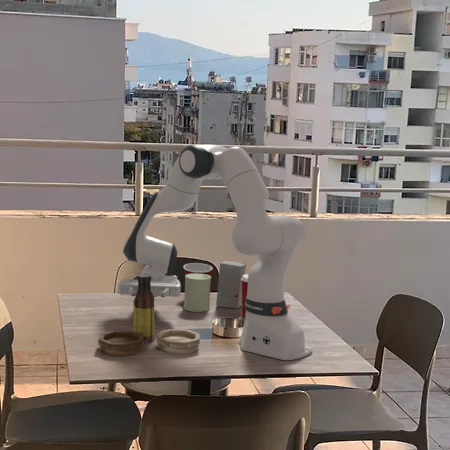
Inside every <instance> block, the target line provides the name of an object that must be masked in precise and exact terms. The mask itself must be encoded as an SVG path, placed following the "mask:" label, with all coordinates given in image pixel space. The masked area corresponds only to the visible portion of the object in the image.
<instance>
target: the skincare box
mask: <svg viewBox="0 0 450 450" xmlns="http://www.w3.org/2000/svg"><path fill="white" fill-rule="evenodd" d="M246 268H247V263H243V262H237V261H231V260H230V261H229V260H224V261H221V262H220V265H219V273H218V274H219V275H218V282H217V292H216V304H215V306H216V307H217V308H218V307H219V308H227V309H235V310H238V309H239V308H241V307H242V280H241V279H242V276H243V275H245V274H246Z"/></svg>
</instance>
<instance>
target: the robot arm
mask: <svg viewBox="0 0 450 450" xmlns="http://www.w3.org/2000/svg"><path fill="white" fill-rule="evenodd" d="M204 180H208V181H209V180H210V181H212V180H213V181H215V180H217V181H218V180H222V182H223V184H224V185H225V188H226V191H227V193H228V194H229V197H230V199H231V201H232V204H233V206H234V209H235V213H236V224H235V226H234V227H233V230H232V234H231V241H232V245H233V246H234V249H236V251H237V252H238V253H239V254H242V255H248V256H254V257H256V256H259V257H258V259H257V261H256V263H254V265H253V266H252V267H251V268H250V270H249V272H248V273H247V274H248V289H247V297H246V300H245V310H246V314H245V317H244V321H243V327H242V332H241V335H240V337H239V340H238V343H239V345H240V351H241V350H242V351H244V352H249V353H254V354H257V355H262V356H265V357H270V358H273V359H278V360H281V361H292V360H298V359H302V358H304V357H307V356H309V355H311V353H312V352H313V347H311V346H309V345H308V344H306V341H305V339H306V338H305V333H304V330H303V329H302V327H300V326H299V324H298V323H297V322H296V321H295V320H294V318H292V316H291V315H290V314H289V309H291V308H292V307H291V306H292V304H287V303H286V300H285V288H286V277H287V274H288V269H289V266H290V263H291V261H292V258H293V256H294V254H295V252H296V251H297V250H298V248H299V247H300V246H301V245H302V243H303V242H304V240H305V236H306V232H305V231H306V230H305V227H304V224H303V223H302V221H301V220H300V218H297V217H294V216H291V215H285V214H284V215H283V214H282V215H272V216H270V215H269V214H268V212H267V210H266V204H267V203H268V200H269V198H270V193H269V190H268V188H267V186H266V184H265V182H264V180H263V178H262V175H261V174H260V172H259V170H258V168H257V165H256V164H255V163H254V161H253V159H252V158H251V157H250V155H249V154H248V153H247V151H246V150H245V149H244V148H242V147H240V146H227V145H226V146H225V145H224V146H222V145H215V144H207V143H206V144H197V143H195V144H191V145H188V146H185V147H184V148H183V149H182V150H181V152H180V154H179V156H178V157H177V159H176V161H175V162H174V165H173V166H172V168H171V170H170V173H169V175H168V178H167V181H166V182H165V186H164V187H163V188H162V189H161V190H160V191H155V192H154V193H153V194H152V195H151V196H150V197H149V199H148V201H147V203H146V205H145V206H144V208H143V210H142V212H141V213H140V216H139V218H138V220H137V222H136V223H135V225H134V227H133V229H132V231H131V232H130V233H129V235H128V236H127V237H126V239H125V241H124V243H123V246H122V253H123V255H124V256H125V258H126V259H127V260H128V261H130V262H134V263H135V262H136V263H140V264H144V265H146V266H145V267H144V268H143V269H142V271H141V273H140V274H150V275H151V281H150V284H151V285H150V287H151V289H150V290H151V292H152V293H153V296H154V298H157V297H160V298H166V297H170V298H172V297H174V298H178V297H181V288H182V287H181V282H180V280H179V279H178V276H177V275H174V274H173V271H174V270H175V265H176V262H177V258H178V250H177V247H176V244H174V243H172V242H169V241H166V240H164V239H159V238H156V237H153V236H150V235H147V234H146V233H145V232H146V231H147V228H148V227H149V225H150V223H151V221H152V219H153V218H154V217H155V216H157V215H159V214H166V213H167V214H168V213H180V212H184V211H187V210H189V209H191V208H192V207H193V206H194V204H195V203H196V200H197V199H198V196H199V193H200V190H201V186H202V184H203V181H204ZM137 290H138V279H133V278H132V279H127V278H126V279H122V280H120V281H119V282H118V284H117V294H119V295H121V296H122V295H125V296H126V295H127V296H130V297H135V296H136V293H137Z"/></svg>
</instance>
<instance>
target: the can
mask: <svg viewBox="0 0 450 450" xmlns="http://www.w3.org/2000/svg"><path fill="white" fill-rule="evenodd" d="M184 279H185V280H184V302H183V309H184V311H185V310H186V311H187V312H192V313H194V312H195V313H204V312H208V311H210V308H211V307H210V301H211V299H210V298H211V281H212V276H211V275H206V274H187V275H185V276H184Z"/></svg>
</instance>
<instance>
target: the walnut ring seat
mask: <svg viewBox="0 0 450 450" xmlns="http://www.w3.org/2000/svg"><path fill="white" fill-rule="evenodd" d="M144 342H145V341H144V336H143V335H141V334H139V333H136V332H133V331H132V330H112V331H111V330H110V331H107V332H103V333H101V334H100V335H99V337H98V345H99V351H100V352H101V353H102V354H105V355H106V356H107V355H108V356H112V357H113V356H114V357H129V356H135V355H138V354H140V353H141V352H143V346H144V345H143V344H144Z"/></svg>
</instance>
